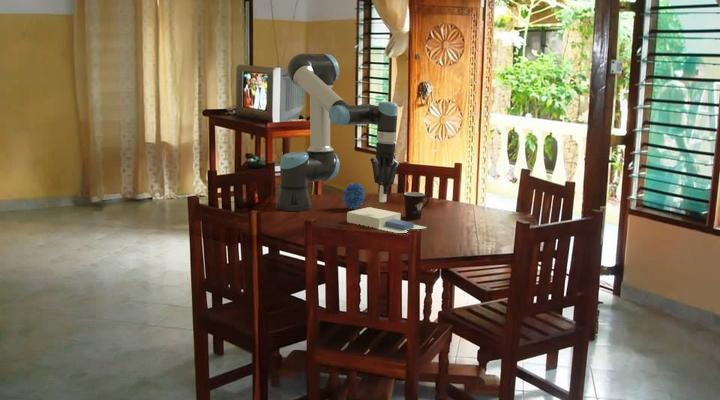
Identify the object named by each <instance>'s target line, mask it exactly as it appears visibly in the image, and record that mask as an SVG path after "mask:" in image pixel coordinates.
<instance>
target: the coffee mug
mask: <svg viewBox="0 0 720 400" xmlns="http://www.w3.org/2000/svg"><path fill="white" fill-rule="evenodd" d="M425 198H426V199H427V201H426V202H425ZM403 201H404V211H405V219H407V220H412V219H413V220H414V221H415V220H416V221H417V220H420V219H421V220H422V214H423V209H424V208H425V207H426V206H427V205H428V204H429V202H430V196H428V195H426V194H425V193H423V192H416V191H406V192H404V193H403ZM424 203H425V204H424ZM413 220H412V221H413Z"/></svg>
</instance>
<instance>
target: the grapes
mask: <svg viewBox="0 0 720 400" xmlns="http://www.w3.org/2000/svg"><path fill="white" fill-rule="evenodd" d="M364 192H365V188H364V186H361V185H360V183H359V182H354V183H352V182H349V183H348V184H347V187H346V188H344V189H343V195H344V196H343V197H342V202H344V203H345V207H346V208H347V209H350V208H351V209H352V211H354V210H357V208H358V207H362V206H363V203H364V200H365V199H366V193H364Z"/></svg>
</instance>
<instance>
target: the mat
mask: <svg viewBox="0 0 720 400" xmlns="http://www.w3.org/2000/svg"><path fill="white" fill-rule="evenodd" d="M427 227H428V226H423V225H418V224H414V228H412V229H421V230H425V229H427ZM377 230H379V231H383V232H384V231H385V232H387V231H388V233H392V232H393V234H397V233H407V232H408V231H407V230H400V229H395V228H391V227H386V226H385V227H381V228H378V229H377ZM408 230H409V229H408ZM407 234H408V233H407Z"/></svg>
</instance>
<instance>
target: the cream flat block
mask: <svg viewBox="0 0 720 400" xmlns="http://www.w3.org/2000/svg"><path fill="white" fill-rule="evenodd" d="M401 215H402V214H401V212H396V211H391V210H385V209H379V208H375V207H371V206H369V207H368V206H367V207H364V208H363V207H362V208H359V209H355V210H351V211H350V210H349V211H347V212H346V222H347V223H349V224H353V225H354V224H355V225H359V224H360V226H363V225H364V226H363V227H368V226H369V228H372V227H373V228H372V229H377V230H378V228H381V227H385V226H386V221H390V220H394V219H397V220H401V218H402V217H401Z"/></svg>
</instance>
